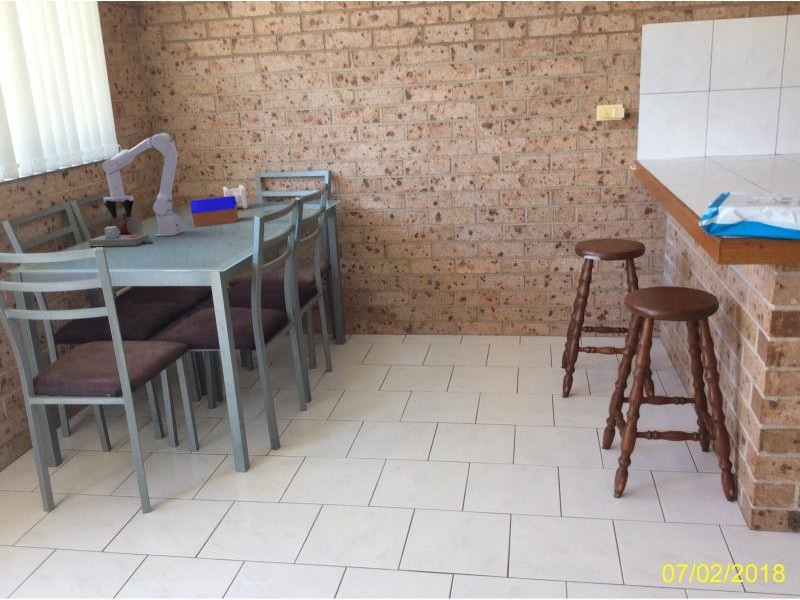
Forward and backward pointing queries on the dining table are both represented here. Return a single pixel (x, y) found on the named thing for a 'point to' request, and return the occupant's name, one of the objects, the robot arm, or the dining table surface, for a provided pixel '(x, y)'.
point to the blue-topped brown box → (214, 211)
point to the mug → (131, 227)
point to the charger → (111, 232)
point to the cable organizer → (237, 195)
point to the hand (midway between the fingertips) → (122, 217)
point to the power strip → (122, 240)
